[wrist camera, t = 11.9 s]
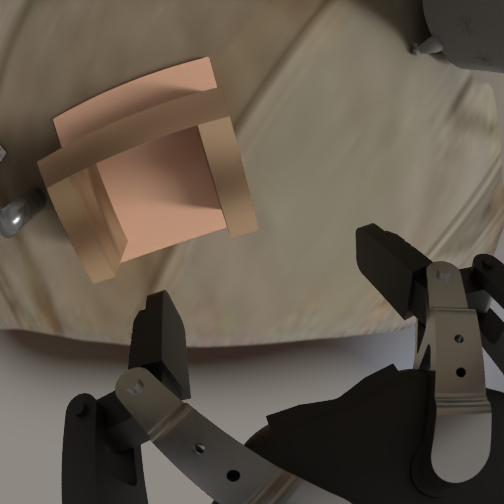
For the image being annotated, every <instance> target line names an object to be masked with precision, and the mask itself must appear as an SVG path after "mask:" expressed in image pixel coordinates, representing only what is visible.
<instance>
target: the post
mask: <svg viewBox="0 0 504 504" xmlns="http://www.w3.org/2000/svg"><path fill="white" fill-rule="evenodd" d="M45 203H46V198H45V195H44V193H43V191H42V190H41V189H39V188H36V187H35V188H32V189H30V190H28V191H27V192H25V193H24V194H22V195H21V196H19V197H18V198H17V199H15V200H14V201H12V202H11V203H9V204H8V205H7V206H5V207H4V208H3V209H1V210H0V234H1V235H2V236H4V237H6V238H10V237H12V236H13V235H14V234H15V233H16V232H17V231H19V230H20V229H21V228H22V227H23V226H24V225H25V224H26V223H27V222H28V221H29V220H31V219H32V218H33V217H34V216H35V215H36V214H37V213H38V212H40V211H41V210H42V209H43V208H44V206H45Z"/></svg>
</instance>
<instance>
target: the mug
mask: <svg viewBox="0 0 504 504" xmlns="http://www.w3.org/2000/svg"><path fill="white" fill-rule="evenodd" d="M423 11H424V16H425V19H426V22H427V25H428V28H429V30H430V33H431V35H432V36H431V37H429V38H428V39H427V40H426V41H424V42H423V43H422V44H420V45H418V46H417V47H415V48H414V49H413V50H412V53H413V54H414V55H419V54H422V53H437V52H440V51H442V53H443V54H444V55H445V56H446V58H447V59H448V60H449V61H450V62H452V63H453V64H454V65H456V66H457V67H459V68H462V69H469V70H481V71H491V72H497V73H504V0H423Z"/></svg>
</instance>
